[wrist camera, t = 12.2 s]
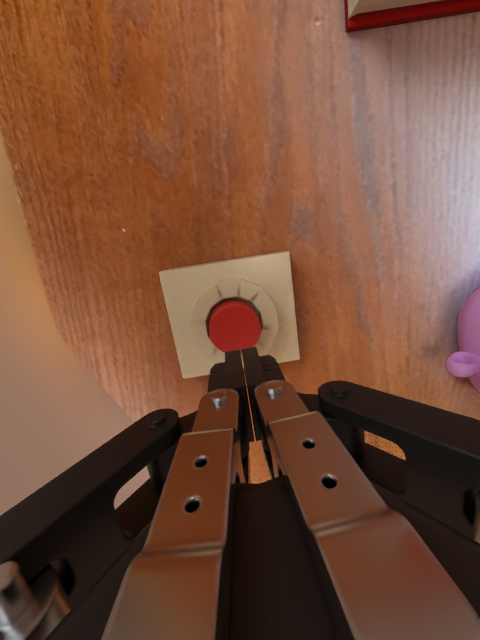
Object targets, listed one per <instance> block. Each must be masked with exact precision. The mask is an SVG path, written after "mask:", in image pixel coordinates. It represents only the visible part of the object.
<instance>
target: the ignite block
mask: <svg viewBox="0 0 480 640" xmlns="http://www.w3.org/2000/svg"><path fill="white" fill-rule="evenodd" d="M159 277H160V281H161V286H162V290H163V294H164V299H165V303H166V307H167V312H168V316H169V320H170V325H171V329H172V333H173V338H174V342H175V346H176V350H177V355H178V359H179V363H180V368H181V372H182V376H183V379H186V378H192V377H198V376H204V375H210V369H211V368H212V367H213V366H214V364H216V363H222V362H225V353H224V352H222V351H220V350H219V349H218V348H217V347H216V346H215V345H214V344H213V343H212V341H211V339H210V335H209V324H210V318H211V315H212V313H213V311H214V310H215V309H216V307H218V306H219V305H220V304H222V303H223V302H226V301H229V300H239V301H243V302H245V303H247V304H249V305H250V306H251V307H252V308H253V309H254V311H255V312H256V314H257V316H258V318H259V321H260V324H261V334H260V338H259V340H258V342H257V343H256V345H255V346H254V347H256V348H257V351H258V354H259V356H264V355H270V356H272V357H274V358H275V359H276V361H277V363H282V362H288V361H294V360H300V355H299V345H298V335H297V325H296V315H295V305H294V294H293V284H292V274H291V264H290V254H289V251H279V252H272V253H266V254H260V255H253V256H247V257H241V258H235V259H228V260H222V261H216V262H209V263H203V264H197V265H190V266H184V267H178V268H172V269H165V270H163V271H160V272H159ZM241 359H242V365H243V369H244V363H243V357H242V354H241Z"/></svg>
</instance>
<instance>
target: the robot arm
mask: <svg viewBox="0 0 480 640" xmlns="http://www.w3.org/2000/svg"><path fill="white" fill-rule="evenodd" d="M241 351H242V357H243V363H244V369H245V376H246V382H247V388H248V394H249V400H250V406H251V412H252V419H253V425H254V431H255V437H256V441H258V440H262V445H263V452H264V458H265V461H266V465H267V468H268V472H269V475H270V478H271V480H269V481H266V482H264V483H260V484H250V458H249V449H250V447H249V442H253V441H254V435H253V429H252V422H251V416H250V409H249V403H248V396H247V390H246V384H245V378H244V372H243V365H242V359H241V353H240V349H239V350H233V351H227V352H225V362H222V363H216V364H214V366H213V367H212V368H211V369H210V376H209V384H208V393H207V394H206V395H204V396H203V397H202V399H201V400H200V404H199V407H198V410H197V411H195V412H193V413H191V414H189V415H186V416H183V417H181V418H179V416H178V413H177V412H176V411H175V410H173V409H160V410H156V411H153V412H151V413H149V414H147V415H145V416H144V417H142V418H141V419H139V420H138V421H137V422H135V423H134V424H132V425H131V426H129V427H128V428H126V429H125V430H124V431H122V432H121V433H119V434H118V435H116V436H115V437H113V438H112V439H111V440H109V441H108V442H106V443H105V444H103V445H102V446H101V447H99V448H98V449H96V450H95V451H93V452H92V453H90V454H89V455H88V456H86V457H85V458H83V459H82V460H80V461H79V462H77V463H76V464H74V465H73V466H72V467H70V468H69V469H67V470H66V471H65V472H63V473H61V474H60V475H59V476H57V477H56V478H54V479H53V480H51V481H50V482H49V483H47V484H46V485H44V486H43V487H41V488H40V489H38V490H37V491H36V492H34V493H33V494H31V495H30V496H28V497H27V498H25V499H24V500H23V501H21V502H20V503H18V504H17V505H15V506H14V507H12V508H11V509H10V510H8V511H7V512H5V513H4V514H3V515H1V516H0V640H480V420H477V419H473V418H470V417H466V416H463V415H460V414H456V413H453V412H449V411H446V410H443V409H439V408H436V407H432V406H429V405H426V404H422V403H419V402H415V401H412V400H409V399H405V398H402V397H398V396H395V395H392V394H388V393H385V392H381V391H378V390H375V389H371V388H368V387H364V386H361V385H358V384H354V383H351V382H347V381H331V382H327V383H324V384H323V385H321V386H320V387H319V389H318V395H316V394H301V393H298V392H296V391H295V389H294V387H293V386H292V385H291V384H290V383H288V382H286V381H285V379H284V376H283V374H282V372H281V370H280V368H279V365H278V363H277V361H276V359H275V358H274V357H272V356H270V355H264V356H259V354H258V351H257V348H256V347H251V348H245V349H241ZM364 430H365V431H368V432H370V433H373V434H375V435H377V436H380V437H382V438H385V439H387V440H389V441H392V442H394V443H395V444H397V445H398V446H399V447H400V448H401V449H402V450H403V452H404V454H405V457H406V461H405V460H403V459H401V458H398V457H396V456H394V455H392V454H389V453H387V452H385V451H383V450H381V449H378V448H376V447H374V446H372V445H369V444H367V443H365V439H364ZM146 465H147V468H148V472H149V475H150V479H148V480H147V481H146V482H145V483H144V484H143V485H142V486H141V487H140V488H138V490H136V491H135V492H134V493H133V494H132V495H131V496H130V497H129V498H128V499H127V500H126V501H124V502H123V503H122V504H121V505H120V506H119V507H118V508H117V509H116V510H115V509H114V499H115V496H116V494H117V492H118V491H119V489H120V488H121V487H122V486H123V485H124V484H126V483H127V482H128V481H129V480H130V479H131V478H132V477H134V476H135V475H136V474H137V473H138V472H139V471H141V470H142V469H143V468H144V467H145V466H146Z"/></svg>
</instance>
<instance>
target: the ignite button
mask: <svg viewBox="0 0 480 640" xmlns="http://www.w3.org/2000/svg"><path fill="white" fill-rule="evenodd" d="M260 334H261V324H260V321H259V318H258V316H257V314H256V312H255V311H254V309H253V308H252V307H251V306H250V305H249V304H247V303H245V302H243V301H239V300H229V301H226V302H223V303H222V304H220V305H219V306H218V307H216V309H215V310H214V311H213V313H212V315H211V318H210V324H209V335H210V339H211V341H212V343H213V344H214V345H215V346H216V347H217V348H218V349H219V350H220V351H222V352H224V353H225V352H227V351H233V350H239V349H240V353H241V354H242V351H241V349H245V348H251V347H254V346H255V345H256V343H257V342H258V340H259V338H260Z"/></svg>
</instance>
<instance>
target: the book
mask: <svg viewBox="0 0 480 640" xmlns="http://www.w3.org/2000/svg"><path fill="white" fill-rule="evenodd" d="M477 11H480V0H345V21H346V32H351V31H357V30H364V29H370V28H376V27H382V26H389V25H395V24H401V23H408V22H414V21H420V20H427V19H433V18H439V17H446V16H452V15H458V14H464V13H471V12H477Z"/></svg>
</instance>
